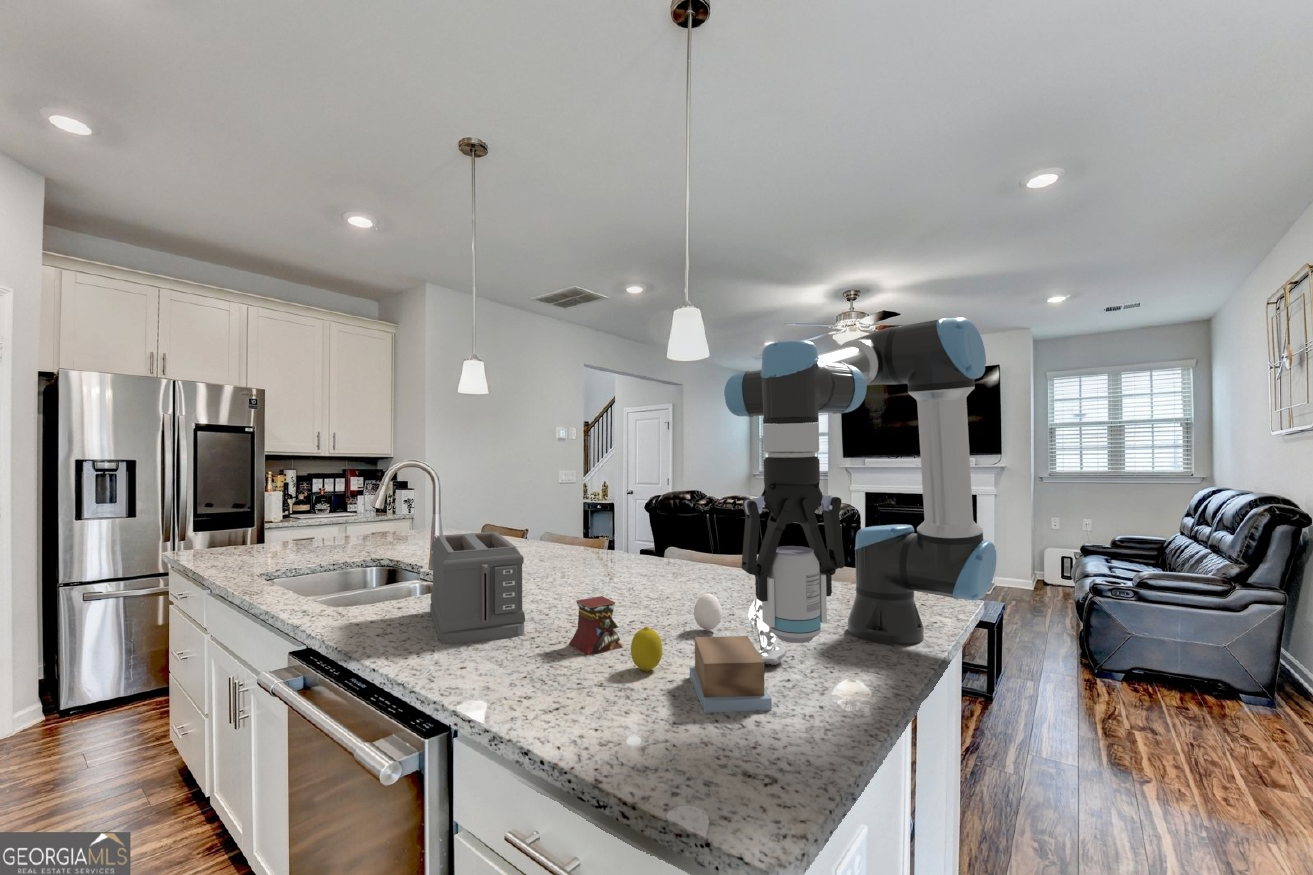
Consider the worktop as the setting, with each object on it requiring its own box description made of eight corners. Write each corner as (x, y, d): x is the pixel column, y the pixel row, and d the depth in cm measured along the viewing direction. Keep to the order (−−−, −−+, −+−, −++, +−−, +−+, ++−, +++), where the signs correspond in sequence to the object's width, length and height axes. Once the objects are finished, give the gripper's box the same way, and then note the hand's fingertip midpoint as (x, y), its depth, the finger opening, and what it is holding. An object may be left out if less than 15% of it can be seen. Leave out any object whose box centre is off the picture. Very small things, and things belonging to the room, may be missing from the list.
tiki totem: (588, 658, 110) (587, 609, 110) (567, 646, 117) (567, 600, 117) (626, 649, 115) (626, 602, 115) (604, 637, 122) (604, 593, 122)
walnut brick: (747, 665, 100) (747, 636, 100) (764, 695, 88) (764, 662, 88) (694, 666, 99) (694, 637, 99) (704, 697, 87) (704, 663, 87)
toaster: (441, 652, 114) (441, 556, 114) (429, 611, 142) (429, 534, 142) (529, 639, 121) (528, 549, 121) (501, 603, 149) (501, 529, 149)
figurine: (772, 674, 101) (771, 605, 102) (739, 667, 105) (738, 600, 105) (792, 658, 109) (792, 593, 109) (761, 651, 113) (760, 589, 113)
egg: (688, 630, 126) (688, 594, 126) (703, 623, 131) (702, 589, 131) (713, 635, 122) (713, 599, 122) (727, 627, 127) (726, 592, 127)
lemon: (647, 664, 107) (646, 620, 107) (668, 672, 103) (668, 626, 103) (624, 672, 103) (624, 626, 103) (646, 681, 99) (645, 634, 99)
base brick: (747, 680, 101) (747, 663, 101) (771, 718, 87) (771, 698, 87) (689, 683, 100) (689, 665, 100) (705, 722, 86) (704, 701, 86)
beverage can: (776, 626, 85) (774, 543, 85) (824, 632, 82) (823, 546, 82) (763, 641, 79) (761, 552, 79) (815, 648, 76) (813, 556, 76)
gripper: (843, 452, 86) (846, 608, 86) (714, 456, 82) (717, 619, 83) (871, 453, 79) (875, 624, 79) (730, 458, 75) (734, 637, 75)
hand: (794, 621), depth 81 cm, fingers closed on beverage can, 7 cm apart
